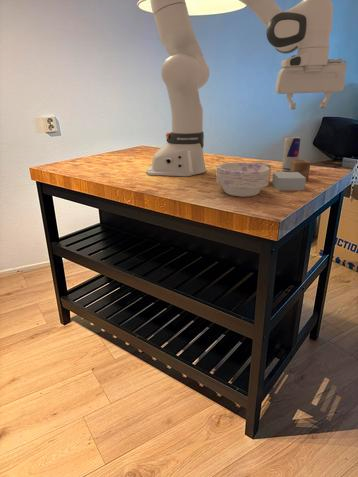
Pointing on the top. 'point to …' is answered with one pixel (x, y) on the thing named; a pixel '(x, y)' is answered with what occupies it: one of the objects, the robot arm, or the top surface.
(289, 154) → the energy drink
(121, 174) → the top surface
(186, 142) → the robot arm
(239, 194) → the paper bowls
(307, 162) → the walnut block
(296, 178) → the base block
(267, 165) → the beech block
